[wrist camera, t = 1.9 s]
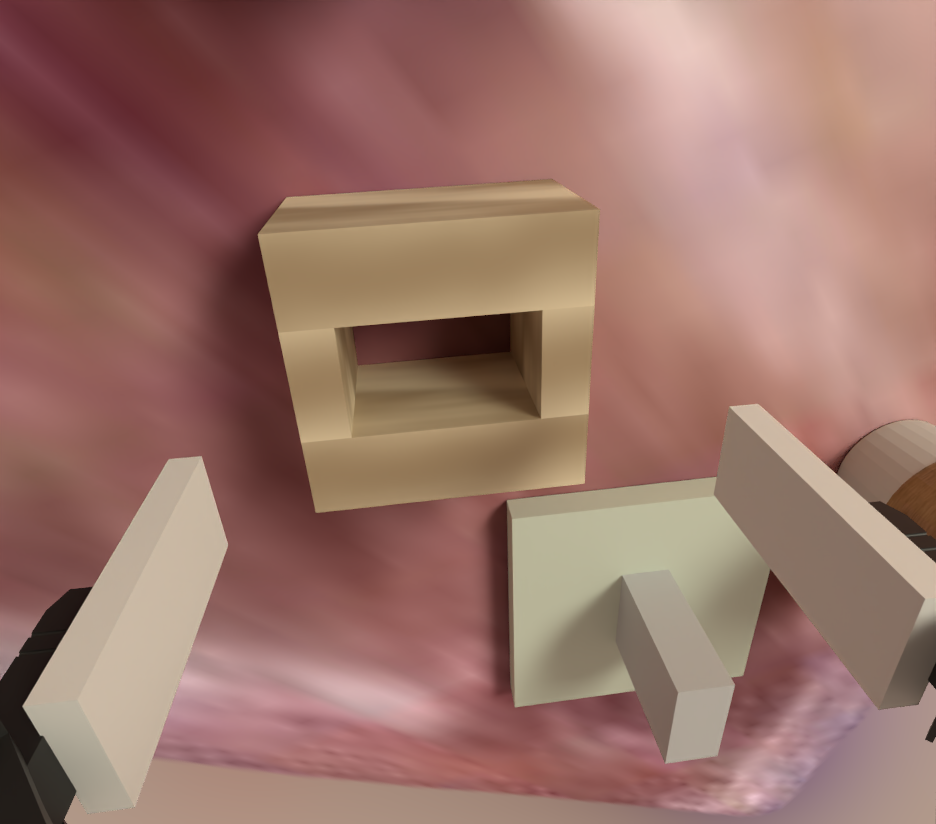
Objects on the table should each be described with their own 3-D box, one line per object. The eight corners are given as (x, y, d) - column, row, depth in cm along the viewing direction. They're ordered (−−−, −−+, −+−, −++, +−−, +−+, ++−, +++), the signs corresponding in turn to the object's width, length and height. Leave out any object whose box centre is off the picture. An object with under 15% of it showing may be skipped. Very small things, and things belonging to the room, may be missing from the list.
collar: (547, 408, 28) (584, 483, 23) (328, 429, 28) (315, 512, 22) (552, 179, 24) (599, 209, 18) (286, 197, 23) (257, 234, 18)
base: (510, 685, 38) (541, 835, 30) (506, 500, 31) (545, 635, 23) (730, 655, 39) (813, 793, 31) (774, 470, 32) (892, 590, 24)
